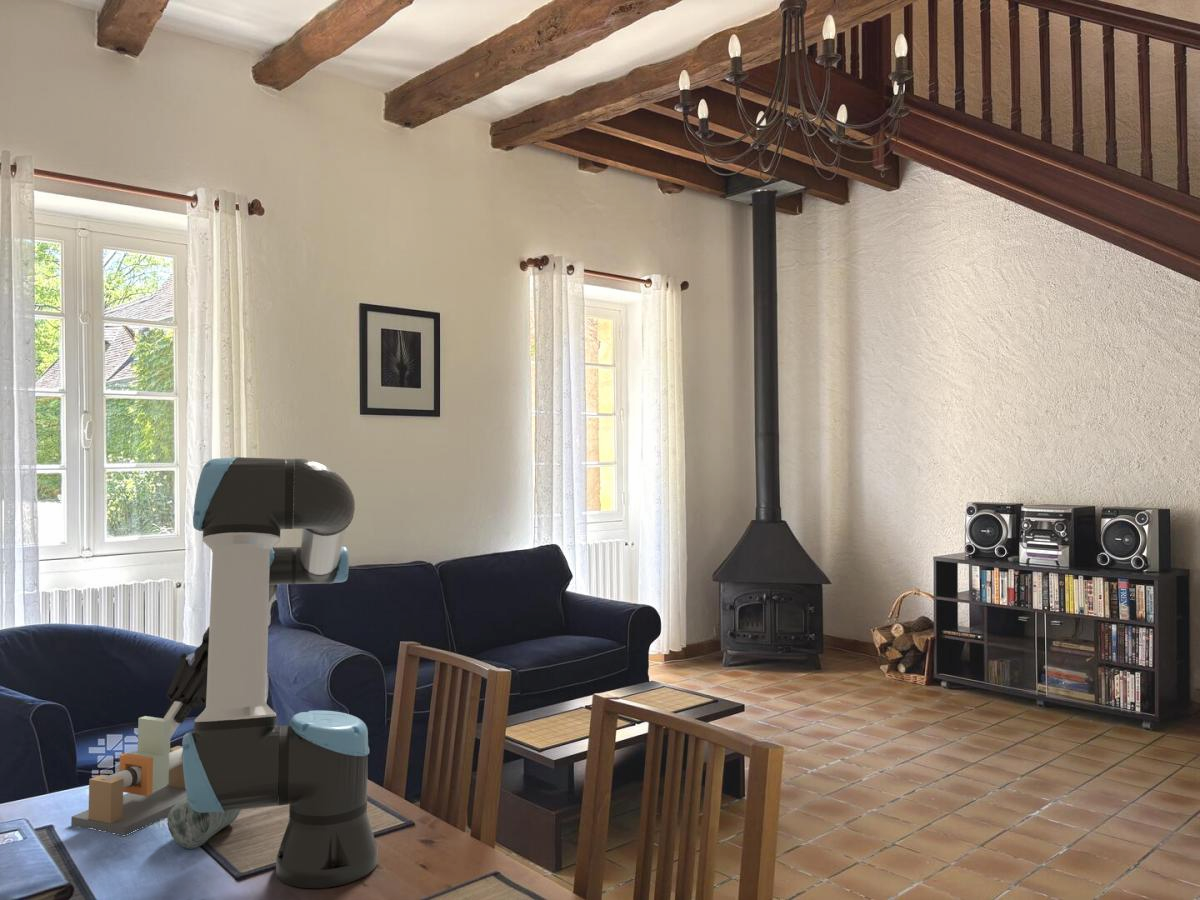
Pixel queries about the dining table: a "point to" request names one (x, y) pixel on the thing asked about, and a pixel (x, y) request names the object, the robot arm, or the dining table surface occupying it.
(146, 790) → the ring
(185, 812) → the grey rounded lump
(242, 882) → the dining table surface
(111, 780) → the rig
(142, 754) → the sleeve
